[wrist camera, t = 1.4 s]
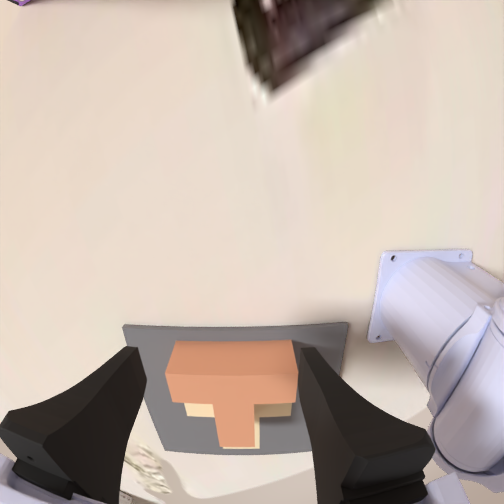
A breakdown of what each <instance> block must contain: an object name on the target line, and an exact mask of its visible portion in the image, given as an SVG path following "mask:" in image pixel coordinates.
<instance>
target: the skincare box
mask: <svg viewBox="0 0 504 504" xmlns="http://www.w3.org/2000/svg"><path fill="white" fill-rule="evenodd" d="M132 499H133V498H132V497H130V496H128V495H126V494H125V493H123V492H121V491H120V494H119V504H131V503H132Z"/></svg>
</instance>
